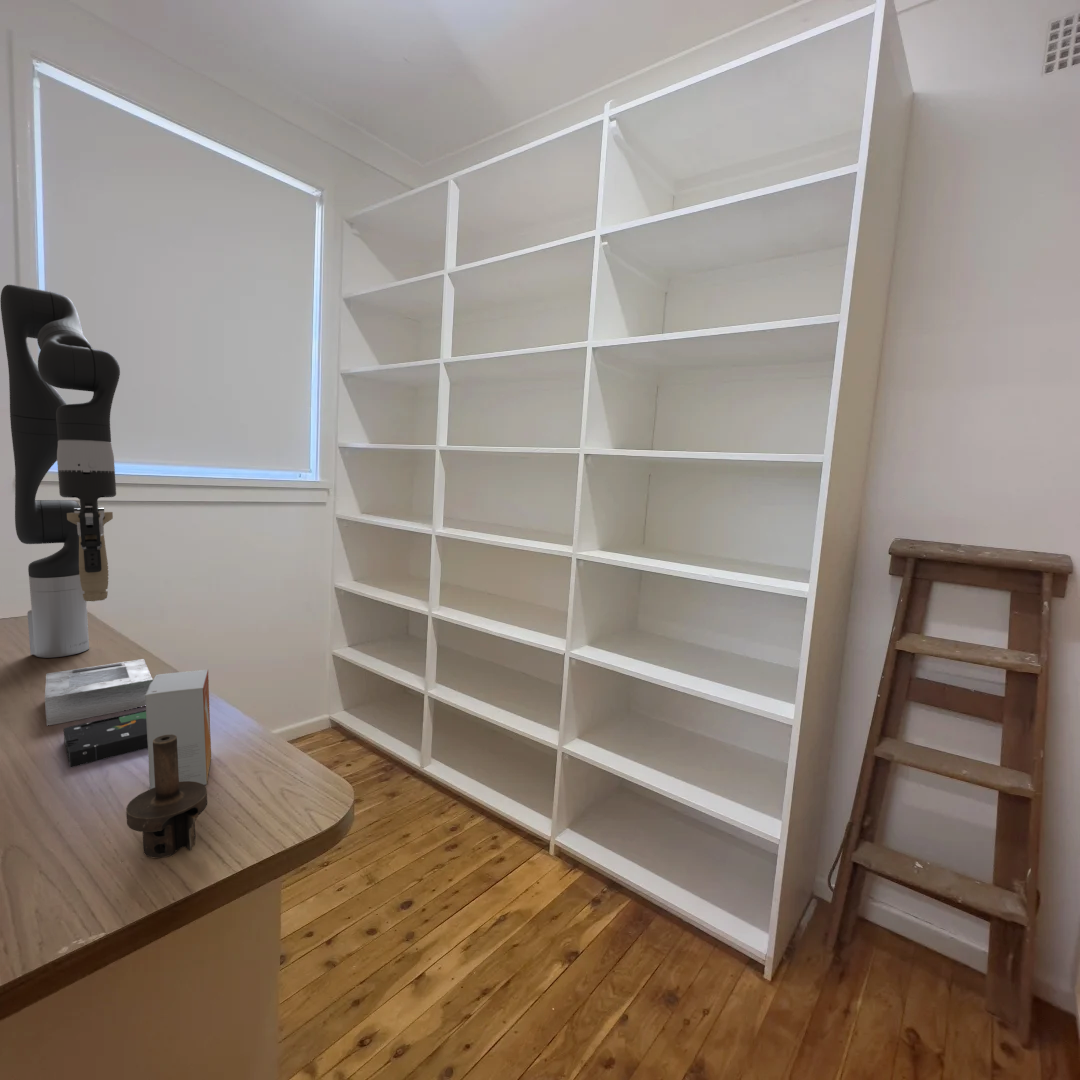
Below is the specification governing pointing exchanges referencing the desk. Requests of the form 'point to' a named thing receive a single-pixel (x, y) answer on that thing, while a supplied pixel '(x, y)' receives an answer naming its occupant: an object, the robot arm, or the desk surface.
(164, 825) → the industrial component
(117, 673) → the socket block
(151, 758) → the small box
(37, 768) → the desk surface
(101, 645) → the desk surface
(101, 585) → the handle
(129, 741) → the disk drive
